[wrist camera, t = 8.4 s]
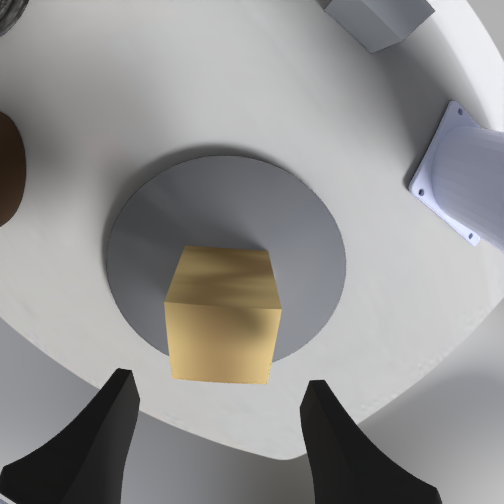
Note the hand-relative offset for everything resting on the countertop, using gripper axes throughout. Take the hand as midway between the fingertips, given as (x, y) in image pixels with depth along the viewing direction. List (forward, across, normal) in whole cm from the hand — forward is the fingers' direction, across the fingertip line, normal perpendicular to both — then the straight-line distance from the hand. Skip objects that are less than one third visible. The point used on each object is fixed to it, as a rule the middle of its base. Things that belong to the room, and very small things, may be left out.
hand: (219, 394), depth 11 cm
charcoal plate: (+10, 0, 0) cm, 10 cm away
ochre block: (+9, 0, 0) cm, 9 cm away
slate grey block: (+10, -7, -19) cm, 22 cm away
